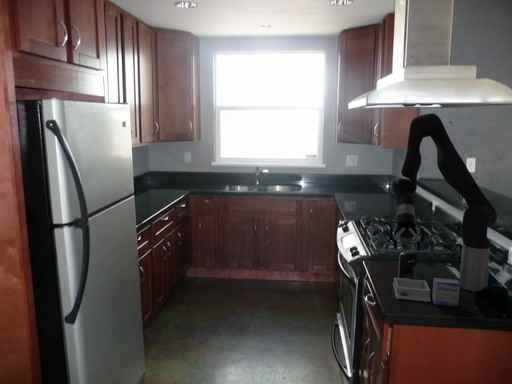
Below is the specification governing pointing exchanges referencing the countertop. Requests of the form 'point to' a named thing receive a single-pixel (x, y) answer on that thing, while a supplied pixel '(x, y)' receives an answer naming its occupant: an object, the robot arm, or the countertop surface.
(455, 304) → the medicine box
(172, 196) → the countertop surface
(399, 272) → the battery charger
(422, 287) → the charging dock
